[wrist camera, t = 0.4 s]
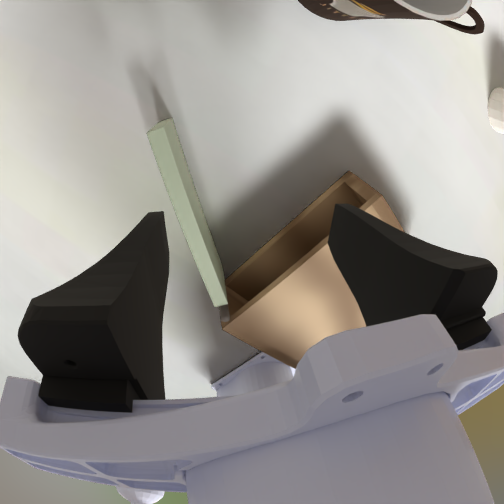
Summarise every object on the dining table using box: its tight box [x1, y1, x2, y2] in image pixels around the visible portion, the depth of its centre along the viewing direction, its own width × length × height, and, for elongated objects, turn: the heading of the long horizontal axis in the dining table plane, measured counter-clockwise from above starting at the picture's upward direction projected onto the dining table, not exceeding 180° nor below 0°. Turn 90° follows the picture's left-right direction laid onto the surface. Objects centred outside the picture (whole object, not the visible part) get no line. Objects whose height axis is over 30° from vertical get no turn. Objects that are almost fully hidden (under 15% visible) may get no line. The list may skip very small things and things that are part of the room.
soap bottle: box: [116, 486, 164, 504], centre depth 35 cm, size 9×9×25 cm
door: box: [147, 118, 228, 307], centre depth 20 cm, size 13×1×5 cm, turn 13°
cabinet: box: [219, 171, 404, 369], centre depth 25 cm, size 15×13×5 cm
